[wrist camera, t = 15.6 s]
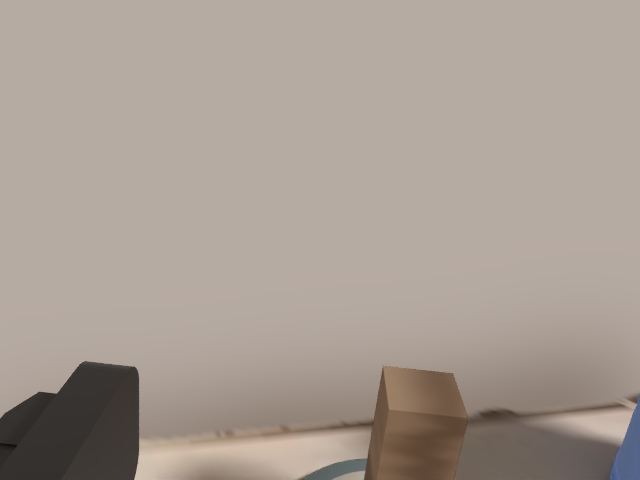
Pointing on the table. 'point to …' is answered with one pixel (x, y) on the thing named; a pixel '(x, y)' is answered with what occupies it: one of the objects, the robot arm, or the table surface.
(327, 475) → the teal dish
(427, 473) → the walnut block
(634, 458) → the water jug
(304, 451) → the table surface
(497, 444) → the table surface
